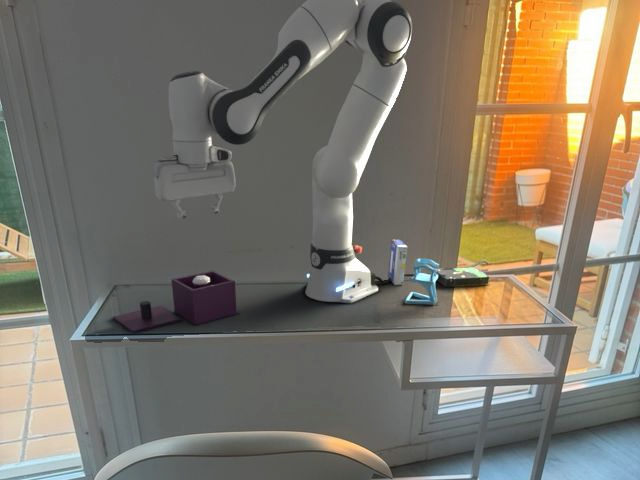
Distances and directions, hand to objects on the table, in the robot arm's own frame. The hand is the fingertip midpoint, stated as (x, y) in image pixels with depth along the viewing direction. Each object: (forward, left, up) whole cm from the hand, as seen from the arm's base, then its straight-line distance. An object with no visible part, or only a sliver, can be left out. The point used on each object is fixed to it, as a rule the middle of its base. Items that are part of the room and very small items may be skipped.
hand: (198, 215), depth 143 cm
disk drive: (-79, +23, -25) cm, 86 cm away
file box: (0, 0, -25) cm, 25 cm away
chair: (-55, +28, -25) cm, 67 cm away
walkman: (-62, +11, -25) cm, 68 cm away
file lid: (+15, -5, -25) cm, 29 cm away
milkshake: (0, +1, -24) cm, 24 cm away
